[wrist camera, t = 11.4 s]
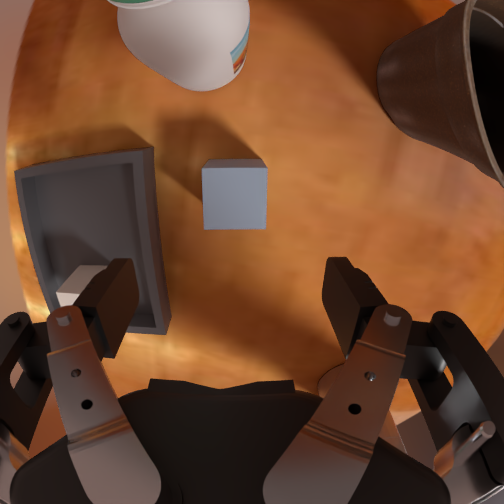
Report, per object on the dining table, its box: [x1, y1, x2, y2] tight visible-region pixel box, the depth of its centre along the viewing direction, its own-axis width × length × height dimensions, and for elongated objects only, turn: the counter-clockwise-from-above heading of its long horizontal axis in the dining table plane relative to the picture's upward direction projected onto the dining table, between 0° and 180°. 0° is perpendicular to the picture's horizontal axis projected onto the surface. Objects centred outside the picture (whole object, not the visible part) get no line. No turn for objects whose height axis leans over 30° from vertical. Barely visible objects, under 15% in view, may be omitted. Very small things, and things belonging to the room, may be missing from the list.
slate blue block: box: [202, 159, 267, 230], centre depth 25 cm, size 5×5×6 cm
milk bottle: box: [108, 0, 250, 91], centre depth 13 cm, size 8×8×20 cm
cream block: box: [56, 265, 107, 307], centre depth 28 cm, size 5×5×6 cm
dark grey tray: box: [14, 147, 171, 335], centre depth 28 cm, size 20×16×4 cm
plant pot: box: [377, 0, 504, 188], centre depth 16 cm, size 16×16×16 cm
